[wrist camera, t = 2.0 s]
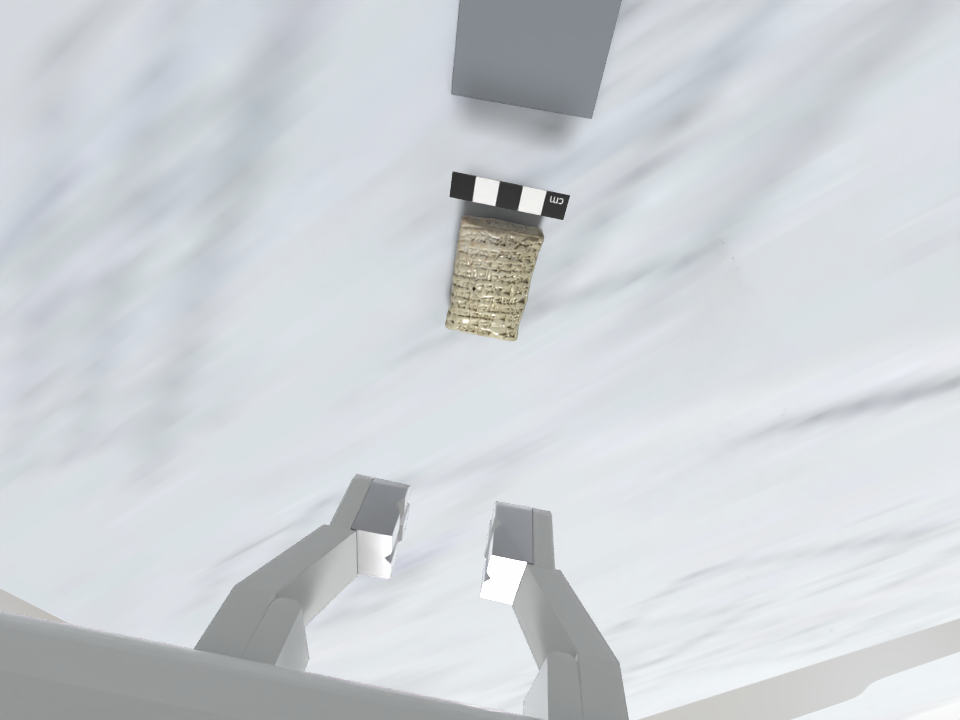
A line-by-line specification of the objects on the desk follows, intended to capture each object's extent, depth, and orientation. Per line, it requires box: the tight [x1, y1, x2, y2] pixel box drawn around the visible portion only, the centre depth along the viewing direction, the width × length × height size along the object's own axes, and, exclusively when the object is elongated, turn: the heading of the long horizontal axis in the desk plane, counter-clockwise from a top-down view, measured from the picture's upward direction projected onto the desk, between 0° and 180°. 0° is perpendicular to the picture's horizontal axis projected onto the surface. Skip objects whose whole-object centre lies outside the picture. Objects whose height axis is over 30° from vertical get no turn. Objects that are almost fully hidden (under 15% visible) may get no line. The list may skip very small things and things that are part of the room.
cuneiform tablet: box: [445, 172, 570, 341], centre depth 29 cm, size 7×4×12 cm
